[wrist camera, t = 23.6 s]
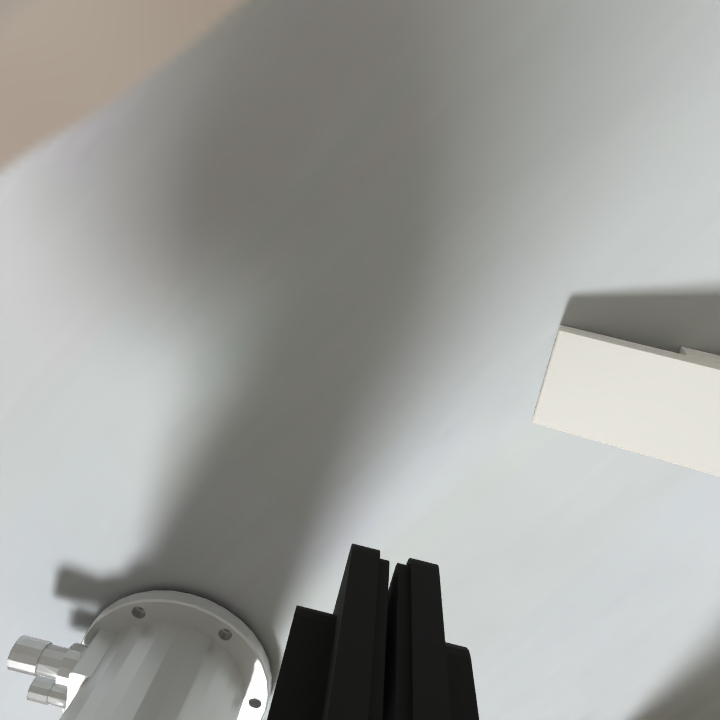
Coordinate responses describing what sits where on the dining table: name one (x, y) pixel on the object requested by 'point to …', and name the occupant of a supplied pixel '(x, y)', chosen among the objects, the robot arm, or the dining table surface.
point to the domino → (633, 398)
